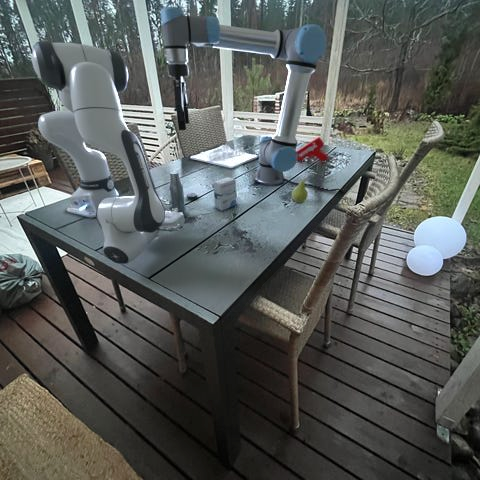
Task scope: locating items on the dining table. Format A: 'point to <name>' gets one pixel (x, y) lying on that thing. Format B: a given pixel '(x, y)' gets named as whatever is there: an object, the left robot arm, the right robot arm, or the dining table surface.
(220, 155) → the relief map
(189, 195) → the cap
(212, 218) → the dining table surface
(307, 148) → the toy gun
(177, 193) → the bottle
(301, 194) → the fruit
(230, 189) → the ink box
